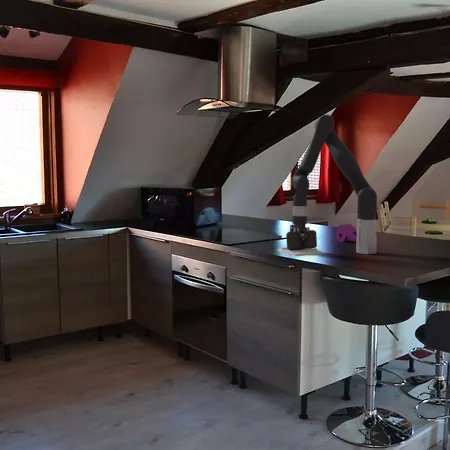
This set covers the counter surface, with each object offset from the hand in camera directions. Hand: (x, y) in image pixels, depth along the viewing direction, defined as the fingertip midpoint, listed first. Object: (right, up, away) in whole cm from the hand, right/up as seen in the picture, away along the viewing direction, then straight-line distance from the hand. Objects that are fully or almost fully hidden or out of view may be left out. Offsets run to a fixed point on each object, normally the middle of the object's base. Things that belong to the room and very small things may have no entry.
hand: (299, 246), depth 279 cm
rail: (0, -2, 0) cm, 2 cm away
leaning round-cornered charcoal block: (+1, -2, -1) cm, 2 cm away
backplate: (0, -3, 0) cm, 3 cm away
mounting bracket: (+35, +1, +34) cm, 49 cm away
